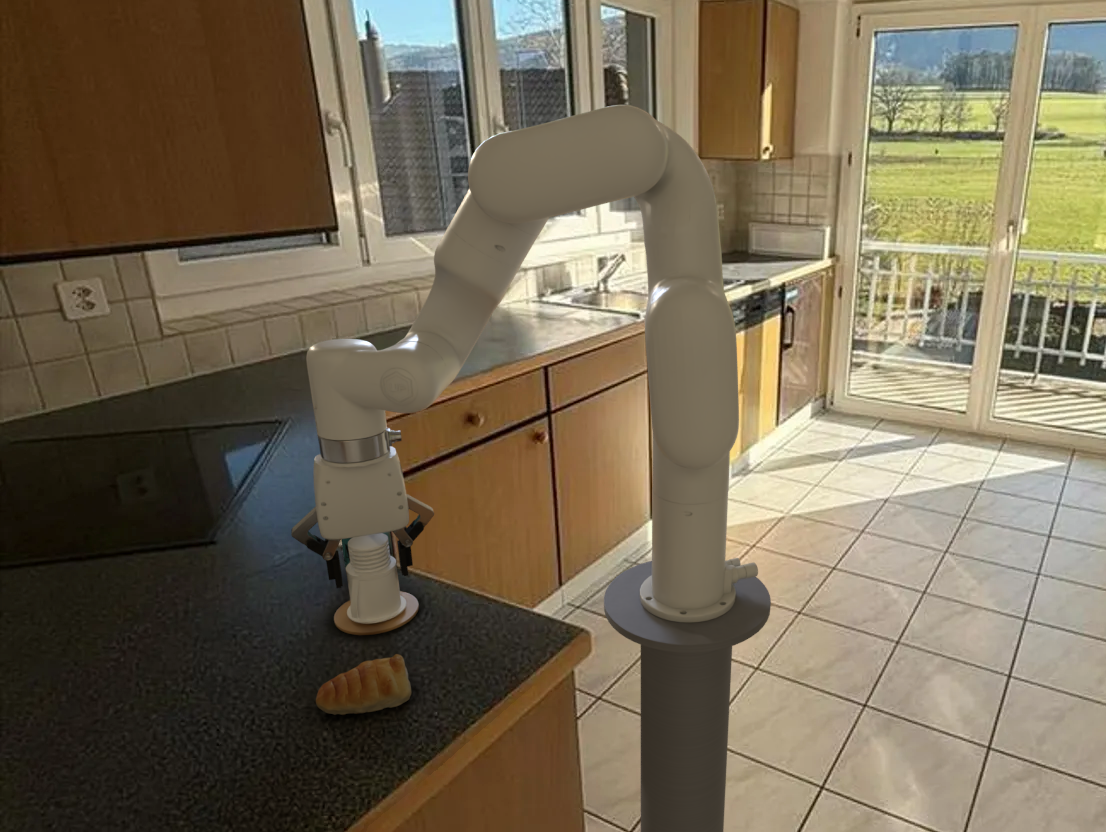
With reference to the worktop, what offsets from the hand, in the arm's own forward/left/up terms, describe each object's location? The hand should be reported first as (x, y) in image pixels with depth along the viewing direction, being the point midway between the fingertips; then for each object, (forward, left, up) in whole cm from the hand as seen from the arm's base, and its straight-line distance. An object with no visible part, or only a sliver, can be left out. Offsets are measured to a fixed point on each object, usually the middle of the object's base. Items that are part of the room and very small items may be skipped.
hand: (372, 576), depth 99 cm
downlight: (0, 0, -5) cm, 5 cm away
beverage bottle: (0, -11, -6) cm, 12 cm away
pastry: (+2, +18, -6) cm, 18 cm away
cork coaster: (0, 0, -5) cm, 5 cm away
